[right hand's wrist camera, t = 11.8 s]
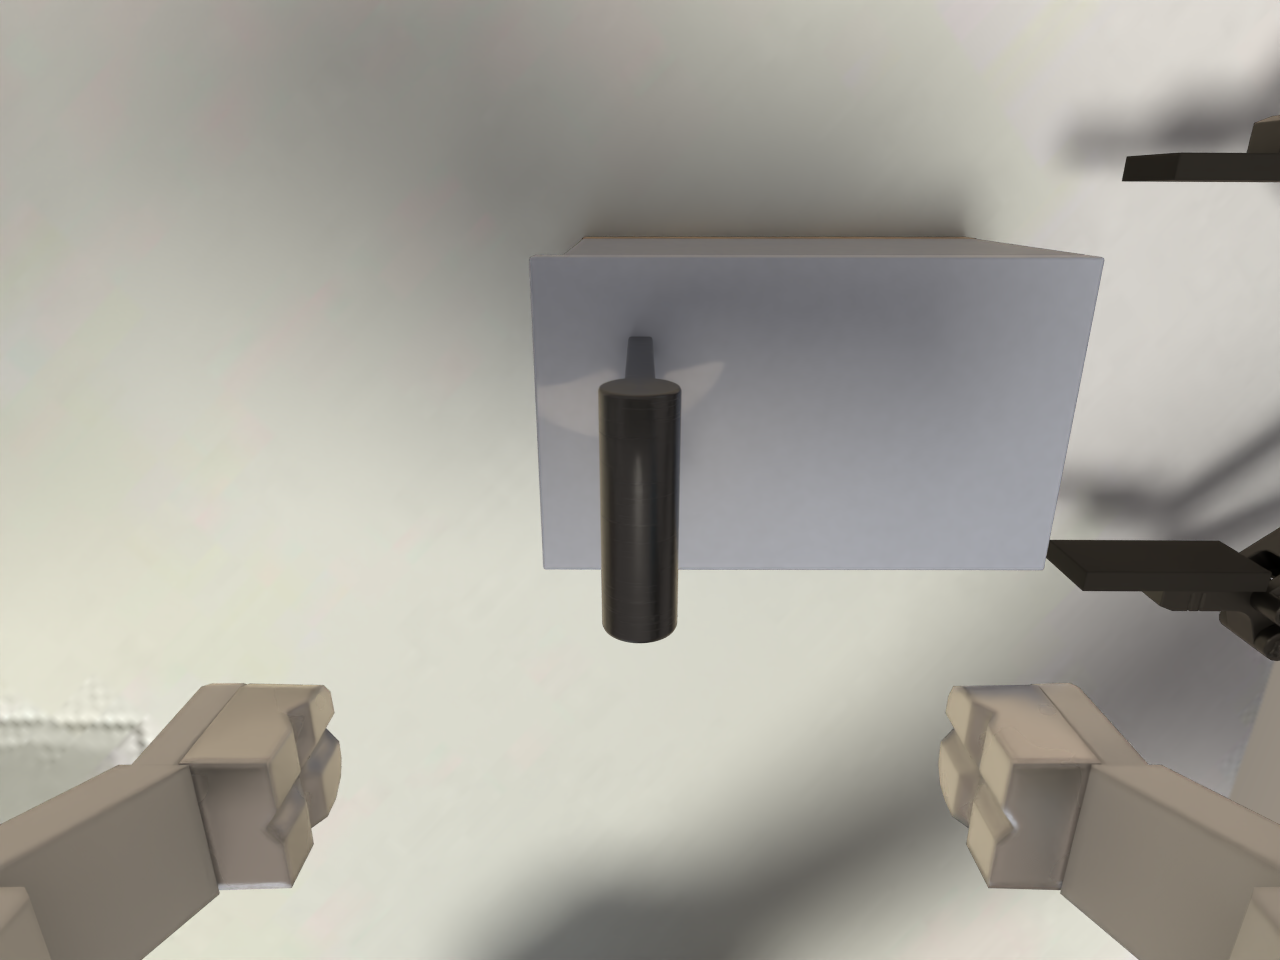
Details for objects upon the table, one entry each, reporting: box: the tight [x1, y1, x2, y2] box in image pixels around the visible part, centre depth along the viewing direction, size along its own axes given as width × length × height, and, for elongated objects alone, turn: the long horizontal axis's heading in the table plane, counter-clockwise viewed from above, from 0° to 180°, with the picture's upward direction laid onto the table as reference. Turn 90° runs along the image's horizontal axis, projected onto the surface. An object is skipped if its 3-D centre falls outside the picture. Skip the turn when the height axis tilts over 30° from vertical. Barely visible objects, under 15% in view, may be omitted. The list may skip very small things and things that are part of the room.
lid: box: [529, 255, 1104, 643], centre depth 20 cm, size 16×10×9 cm, turn 90°
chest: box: [564, 237, 1084, 255], centre depth 29 cm, size 15×10×9 cm, turn 90°
